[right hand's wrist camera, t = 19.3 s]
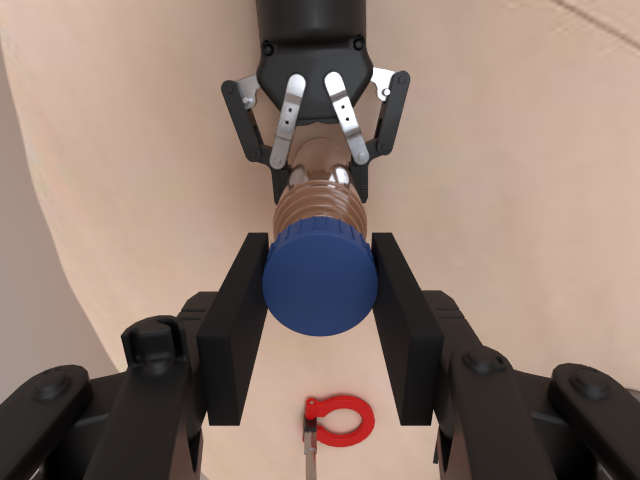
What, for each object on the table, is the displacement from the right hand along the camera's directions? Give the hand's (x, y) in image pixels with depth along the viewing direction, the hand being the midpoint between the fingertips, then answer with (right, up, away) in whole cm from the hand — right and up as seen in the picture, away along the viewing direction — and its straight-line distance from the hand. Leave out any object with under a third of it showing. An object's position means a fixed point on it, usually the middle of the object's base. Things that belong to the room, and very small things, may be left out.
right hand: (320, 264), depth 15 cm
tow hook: (+2, -22, +34) cm, 41 cm away
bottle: (0, +9, +21) cm, 23 cm away
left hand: (0, +4, +16) cm, 16 cm away
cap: (0, -1, -1) cm, 2 cm away
